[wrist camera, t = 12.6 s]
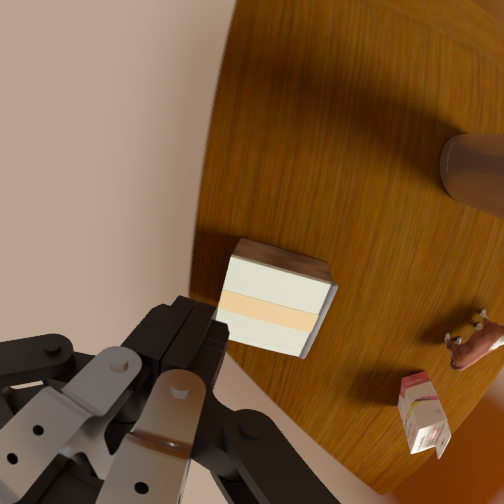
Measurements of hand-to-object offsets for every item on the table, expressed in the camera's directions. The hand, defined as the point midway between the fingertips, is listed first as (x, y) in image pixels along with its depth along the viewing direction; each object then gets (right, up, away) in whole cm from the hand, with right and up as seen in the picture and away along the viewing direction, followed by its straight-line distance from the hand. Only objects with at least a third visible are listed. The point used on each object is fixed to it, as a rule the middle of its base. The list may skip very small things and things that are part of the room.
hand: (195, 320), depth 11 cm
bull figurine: (+38, -9, +25) cm, 46 cm away
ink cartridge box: (+30, -22, +30) cm, 48 cm away
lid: (+4, -4, +20) cm, 21 cm away
